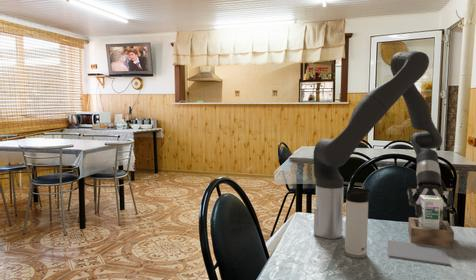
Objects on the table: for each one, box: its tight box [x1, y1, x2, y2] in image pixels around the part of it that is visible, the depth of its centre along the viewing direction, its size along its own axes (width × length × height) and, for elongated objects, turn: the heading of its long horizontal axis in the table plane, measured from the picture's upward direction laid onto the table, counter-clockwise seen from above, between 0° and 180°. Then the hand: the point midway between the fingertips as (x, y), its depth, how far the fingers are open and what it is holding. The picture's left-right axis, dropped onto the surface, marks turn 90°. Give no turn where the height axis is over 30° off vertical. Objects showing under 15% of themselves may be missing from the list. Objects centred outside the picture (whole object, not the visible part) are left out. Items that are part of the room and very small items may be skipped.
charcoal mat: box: [387, 239, 452, 267], centre depth 108 cm, size 16×13×1 cm
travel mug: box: [344, 188, 371, 259], centre depth 106 cm, size 6×7×20 cm
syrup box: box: [418, 195, 444, 230], centre depth 119 cm, size 6×6×14 cm
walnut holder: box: [407, 216, 455, 249], centre depth 119 cm, size 12×12×5 cm
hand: (431, 217), depth 117 cm, fingers closed on syrup box, 6 cm apart
